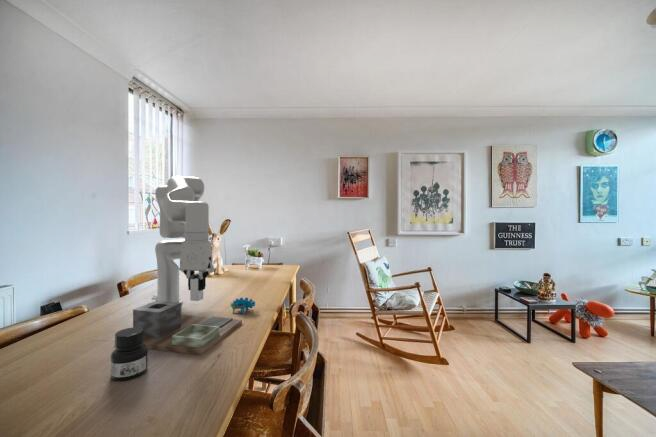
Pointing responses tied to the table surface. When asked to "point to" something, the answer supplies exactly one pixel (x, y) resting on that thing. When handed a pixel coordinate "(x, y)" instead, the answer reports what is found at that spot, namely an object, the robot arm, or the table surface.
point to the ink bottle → (129, 354)
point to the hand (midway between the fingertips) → (196, 289)
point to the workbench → (180, 328)
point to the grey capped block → (195, 288)
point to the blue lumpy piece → (242, 304)
